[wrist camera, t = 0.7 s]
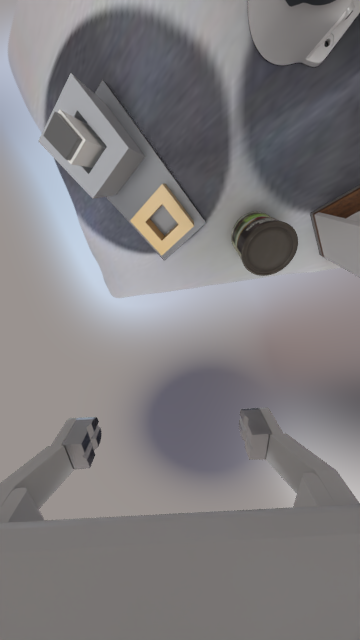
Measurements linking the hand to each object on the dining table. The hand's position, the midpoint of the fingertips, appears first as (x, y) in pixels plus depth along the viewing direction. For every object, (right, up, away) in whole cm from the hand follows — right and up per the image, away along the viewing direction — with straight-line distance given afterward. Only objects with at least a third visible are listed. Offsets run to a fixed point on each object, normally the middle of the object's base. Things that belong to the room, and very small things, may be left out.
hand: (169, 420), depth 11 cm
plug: (-14, +35, +22) cm, 44 cm away
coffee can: (+19, +27, +38) cm, 50 cm away
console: (-8, +36, +33) cm, 50 cm away
